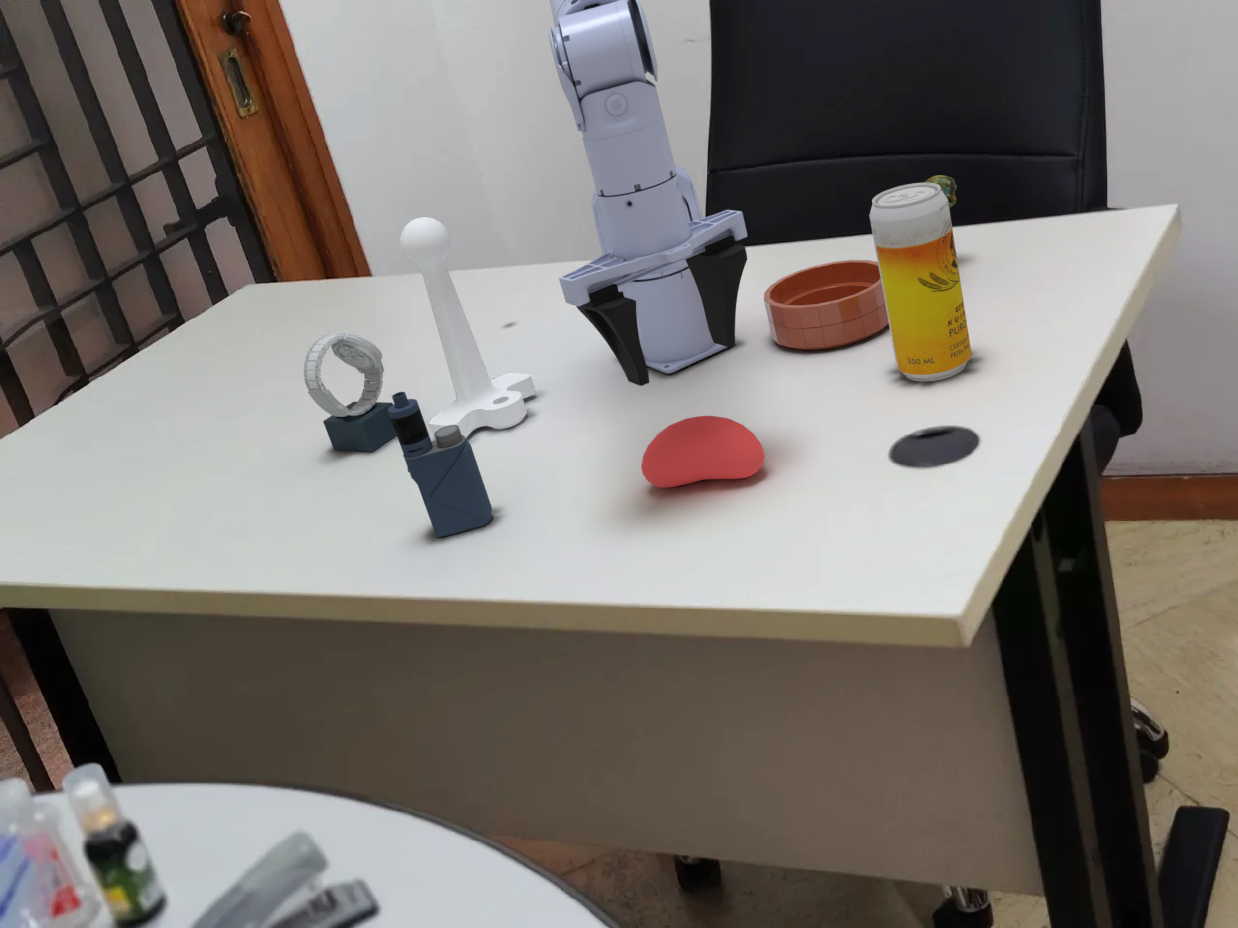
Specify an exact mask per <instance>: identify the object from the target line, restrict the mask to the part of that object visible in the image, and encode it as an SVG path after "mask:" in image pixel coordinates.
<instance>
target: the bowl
mask: <svg viewBox="0 0 1238 928" xmlns="http://www.w3.org/2000/svg"><path fill="white" fill-rule="evenodd" d="M763 303H764V306H765V307H764V308H765V311H766V316H767V320H768V325H769V329H770V333H771V338H772V340H773V341H774V342H775V343H777V344H778V345H780V346H782V347H783V346H784V347H787V348H790V349H796V350H803V351H806V350H807V351H818V350H827V349H834V348H839V347H843V346H848V345H851V344H854V343H858V342H860V341H863V340H865V339H867V338H870V337H872V336H873V335H876V334H877V333H878V332H880V331H881V330H883V329H884V328H885V327H886V326H889V322H888V316H887V311H886V305H885V300H884V294H883V289H882V283H881V278H880V272H879V267H878V261H876V260H870V259H847V260H838V261H831V262H827V263H822V264H817V265H813V266H809V267H807V268H803V269H800V270H797V271H795V272H792V273H790V274H787V275H786V276H783V277H782V278H780V279H778V280H777V281H775V282H774V283H772V284H771V285H769V286H768V287H767V289H766V290H765V291H764V292H763Z"/></svg>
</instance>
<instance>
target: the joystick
mask: <svg viewBox="0 0 1238 928" xmlns="http://www.w3.org/2000/svg"><path fill="white" fill-rule="evenodd" d="M399 246H400V251H401V252H402V254H403V256H404V257H405V259H406V260H407V261H408V262H410V263H411V264H412V265H414V266H415V267H416V268H417V269H418V270H419V272H420V274H421V275H422V278H423V282H424V286H425V289H426V292H427V296H428V299H429V303H430V307H431V310H432V315H433V318H434V322H435V324H436V329H437V332H438V337H439V340H440V343H441V347H442V351H443V354H444V357H445V361H446V364H447V368H448V371H449V374H450V379H451V383H452V386H453V390H454V393H455V397H456V400H454V401H452V402H451V403H449V404H448V405H447V406H446V407H444V408H443V409H442V410H441V411H439V412H438V413H437V414H435V415H434V417H432V418H431V419H430V420H429V421H428V425H429V428H430V431H431V435H432V437H433V441H436V439H435V436H434V433H435V432H436V431H437V430H439V429H440V428H443V427H445V426H449V425H457V426H459V429H460V432H461V435H464V436H465V438H466V439H467V438H468V436H469V435H470V434H472V432H473V431H475V430H476V429H479V428H482V427H489V428H492V429H494V430H504V429H508V428H511V427H514V426H517V425H518V424H520V423H521V422H523V420H524V419H525V418H524V417H525V416H526V415H527V414H528V411H527V407H526V404H525V401H524V399H526V398H528V397H531V396H534V395H535V394H536V392H537V391H536V388H535V385H534V382H533V378H532V375H531V374H529V373H516V372H507V373H504V374H502V375H500V376H497V377H495V378H493V379H491V378H490V376H489V373H488V370H487V367H486V366H485V363H484V360H483V357H482V355H481V352H480V349H479V346H478V345H477V343H476V339H475V336H474V334H473V330H472V329H471V326H470V323H469V321H468V318H467V316H466V313H465V310H464V308H463V306H462V302H461V300H460V298H459V295H458V293H457V290H456V287H455V285H454V283H453V279H452V277H451V275H450V274H451V273H450V272H449V269H448V266H447V257H448V253H449V252H450V248H451V238H450V234H449V232H448V230H447V228H446V226H444V224H442V223H441V222H440V221H439V220H437V219H434V218H433V217H426V216H425V217H424V216H422V217H417V218H414V219H412V220H411V221H409V222H408V223H407V224H406V225H405V226H404V228H403V229H402V231H401V234H400V237H399Z"/></svg>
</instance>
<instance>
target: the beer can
mask: <svg viewBox="0 0 1238 928" xmlns="http://www.w3.org/2000/svg"><path fill="white" fill-rule="evenodd" d="M871 203H872V205H871V208H870V212H869V215H868V216H869V221H870V227H871V228H870V229H871V233H872V238H873V244H874V249H875V255H876V260H877V261H876V262H878V267H879V272H880V278H881V283H882V289H883V294H884V300H885V305H886V311H887V316H888V322H889V324H888V327H889V332H890V338H891V343H892V349H893V354H894V360H895V365H896V369H897V370H898V371H899V372H901V373H902V374H903V375H904V376H905V378H907V379H908V380H911V381H914V382H937V381H941V380H945V379H948V378H951V377H954V376H956V375H958V374H959V373H962V371H963V370H965V368H966V367H967V363H968V362H969V361H970V359H971V357H972V353H973V352H972V348H971V341H970V334H969V328H968V321H967V314H966V309H965V302H964V294H963V289H962V282H961V277H960V270H959V264H958V256H957V249H956V244H955V243H956V242H955V238H954V237H955V236H954V229H953V224H952V217H951V211H950V208H949V204H948V199H947V198H946V196H945V195H944V193H943V192H942V191H941V187H940V186H939V185H938V184H935V183H924V182H915V183H909V184H908V183H907V184H903V185H899V186H895V187H892V188H890V189H886V190H884V191H882V192H880V193H878V194H876V195H875V196H874V197H873V198H872V199H871Z"/></svg>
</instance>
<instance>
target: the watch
mask: <svg viewBox="0 0 1238 928" xmlns="http://www.w3.org/2000/svg"><path fill="white" fill-rule="evenodd" d="M330 348H331V350H332V353H333V355H334V356H335V357H337V358H338V359H339V360H341V361H342V362H343V363H345V364H347V365H348V366H349V367H353V368H355V370H357V371H358V373H360V374H362V375H363V380H364V381H363V388H362V392H361V395H360V397H359V399H358V400H357V401H352V402H350V403H349V404H347V405H344V404H343V403H342V402H340V400H338V399H337V397H335V396H334V394H333V392H331V390H330V389H327V388H326V385H325V383H324V382H323V380H322V378H321V376H322V375H321V373H322V371H321V368H322V364H323V359H324V358H325V355H326V354H327V352H328V350H329V349H330ZM382 359H383V354H382V351H381V350H380V348H379V347H378V346H377V345H376V344H374V343H373V342H372V341H370V340H369V339H368V338H366V337H364V336H361V335H360V334H358V333H354V332H351V331H343V330H342V331H338V332H336V333H335V334H329V335H328V334H327V335H323V336H322V337H319V338H318V339H316V340H315V341H314V343H312V345H310V347H309V349H308V351H307V353H306V356H305V359H304V364H303V377H304V378H303V379H304V384H305V385H306V388H307V390H308V391H307V393H308V395H309V397H310V398H311V400H313V401H314V402H315V403H316V405H317V406H318V407H320V408H321V409H322V410H323V411H325V412H326V413H327V414H329V415H330V416H328V417H327V418H326V419H324V420H323V421H322V422H323V426H324V428H325V431H326V433H327V435H328V438H329V441H330V443H331V446H332V448H333V450H334V451H348V452H349V451H350V452H363V453H374V452H375V451H377V450H378V449H380V448H381V447H382V446H384V445H386V444H387V443H388V442H390V441H391V440H393V439H394V438H396V437H397V435H396V432H395V429H394V426H393V424H392V421H391V418H390V415H389V413H388V408H389V407H390V406H392V405H393V404H394V402H387V401H385V402H383V401H382V402H380V401H378V400H379V397H380V395H381V393H382V388H383V383H384V382H383V379H384V372H385V368H384V364H383V362H382Z"/></svg>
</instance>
